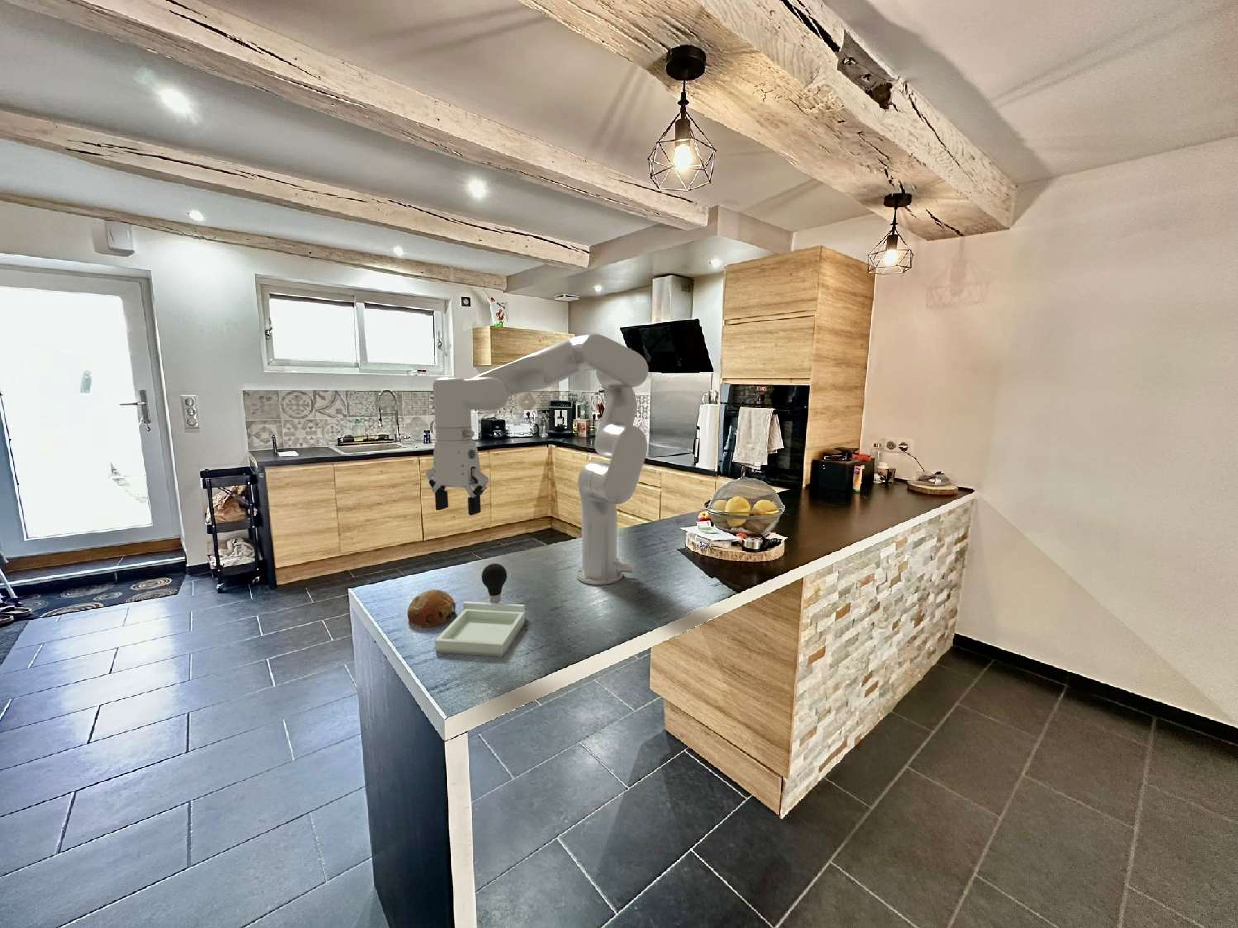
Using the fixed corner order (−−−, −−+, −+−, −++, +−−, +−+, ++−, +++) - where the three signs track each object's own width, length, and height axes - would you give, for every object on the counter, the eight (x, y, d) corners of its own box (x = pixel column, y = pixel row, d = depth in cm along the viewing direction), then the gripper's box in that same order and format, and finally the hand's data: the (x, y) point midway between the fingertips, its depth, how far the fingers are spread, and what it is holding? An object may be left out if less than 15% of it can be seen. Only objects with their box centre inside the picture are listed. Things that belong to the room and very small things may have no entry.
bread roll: (446, 620, 115) (437, 587, 116) (468, 614, 109) (458, 580, 110) (406, 636, 108) (396, 601, 109) (426, 631, 101) (416, 594, 102)
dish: (524, 622, 106) (524, 612, 106) (502, 656, 93) (502, 644, 93) (465, 619, 108) (465, 608, 108) (435, 652, 95) (434, 640, 94)
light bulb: (488, 611, 111) (486, 570, 110) (479, 602, 116) (477, 563, 115) (512, 605, 115) (510, 565, 113) (502, 596, 120) (500, 558, 118)
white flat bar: (524, 617, 109) (524, 604, 108) (523, 618, 108) (523, 606, 108) (465, 613, 111) (464, 601, 110) (463, 615, 110) (463, 602, 109)
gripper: (496, 435, 105) (499, 512, 108) (438, 432, 113) (442, 503, 115) (472, 438, 98) (476, 520, 101) (411, 434, 106) (416, 510, 109)
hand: (458, 511), depth 108 cm, fingers open, 9 cm apart
